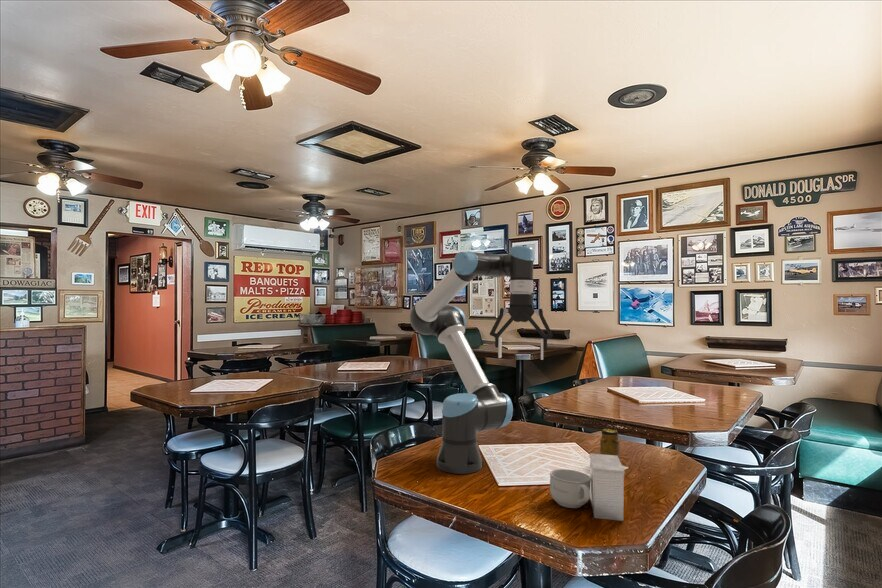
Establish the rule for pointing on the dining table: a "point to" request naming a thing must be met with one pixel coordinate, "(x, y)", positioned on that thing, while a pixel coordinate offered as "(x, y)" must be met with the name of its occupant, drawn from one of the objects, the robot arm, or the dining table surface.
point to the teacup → (569, 487)
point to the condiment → (610, 443)
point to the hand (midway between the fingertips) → (520, 358)
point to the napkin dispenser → (606, 486)
